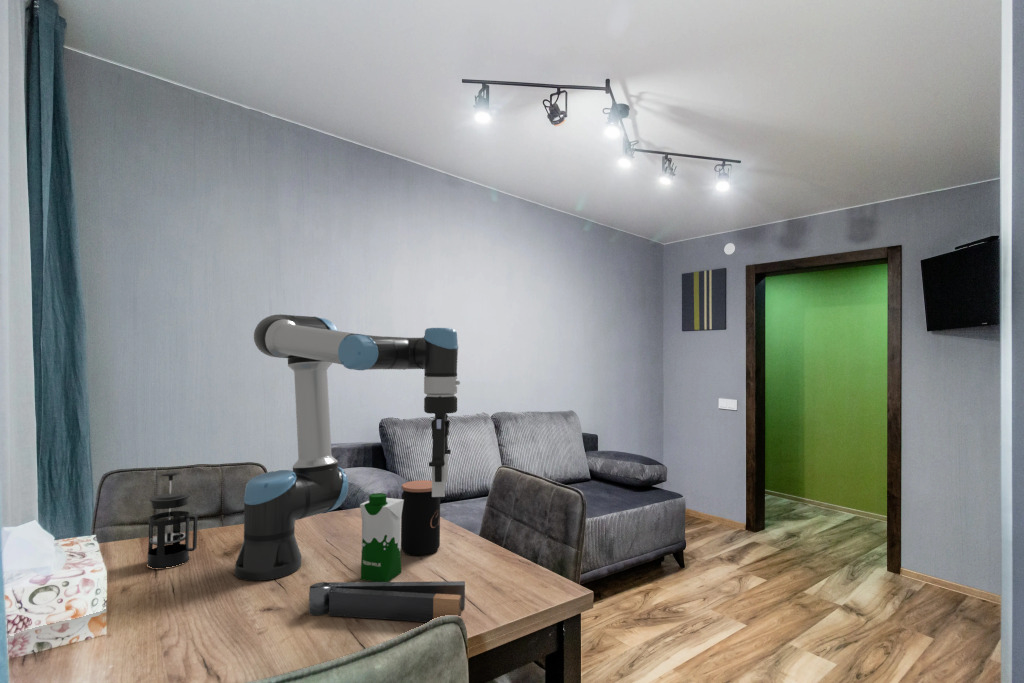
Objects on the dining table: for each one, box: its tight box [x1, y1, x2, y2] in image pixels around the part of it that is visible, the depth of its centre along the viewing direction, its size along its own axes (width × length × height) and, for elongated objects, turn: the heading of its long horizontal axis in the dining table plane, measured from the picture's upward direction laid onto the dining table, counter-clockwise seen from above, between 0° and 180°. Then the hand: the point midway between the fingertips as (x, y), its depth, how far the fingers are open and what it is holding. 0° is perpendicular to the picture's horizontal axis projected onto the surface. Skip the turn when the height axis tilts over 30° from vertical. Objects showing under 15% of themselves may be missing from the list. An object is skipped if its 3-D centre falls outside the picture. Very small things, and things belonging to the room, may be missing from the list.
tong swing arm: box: [328, 588, 462, 623], centre depth 109 cm, size 27×2×5 cm, turn 83°
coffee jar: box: [401, 479, 441, 557], centre depth 149 cm, size 11×11×18 cm
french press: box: [146, 471, 198, 568], centre depth 139 cm, size 12×9×23 cm
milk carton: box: [359, 492, 404, 582], centre depth 131 cm, size 9×9×20 cm
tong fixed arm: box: [308, 580, 466, 617], centre depth 113 cm, size 32×4×5 cm, turn 92°
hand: (440, 489), depth 122 cm, fingers open, 13 cm apart
